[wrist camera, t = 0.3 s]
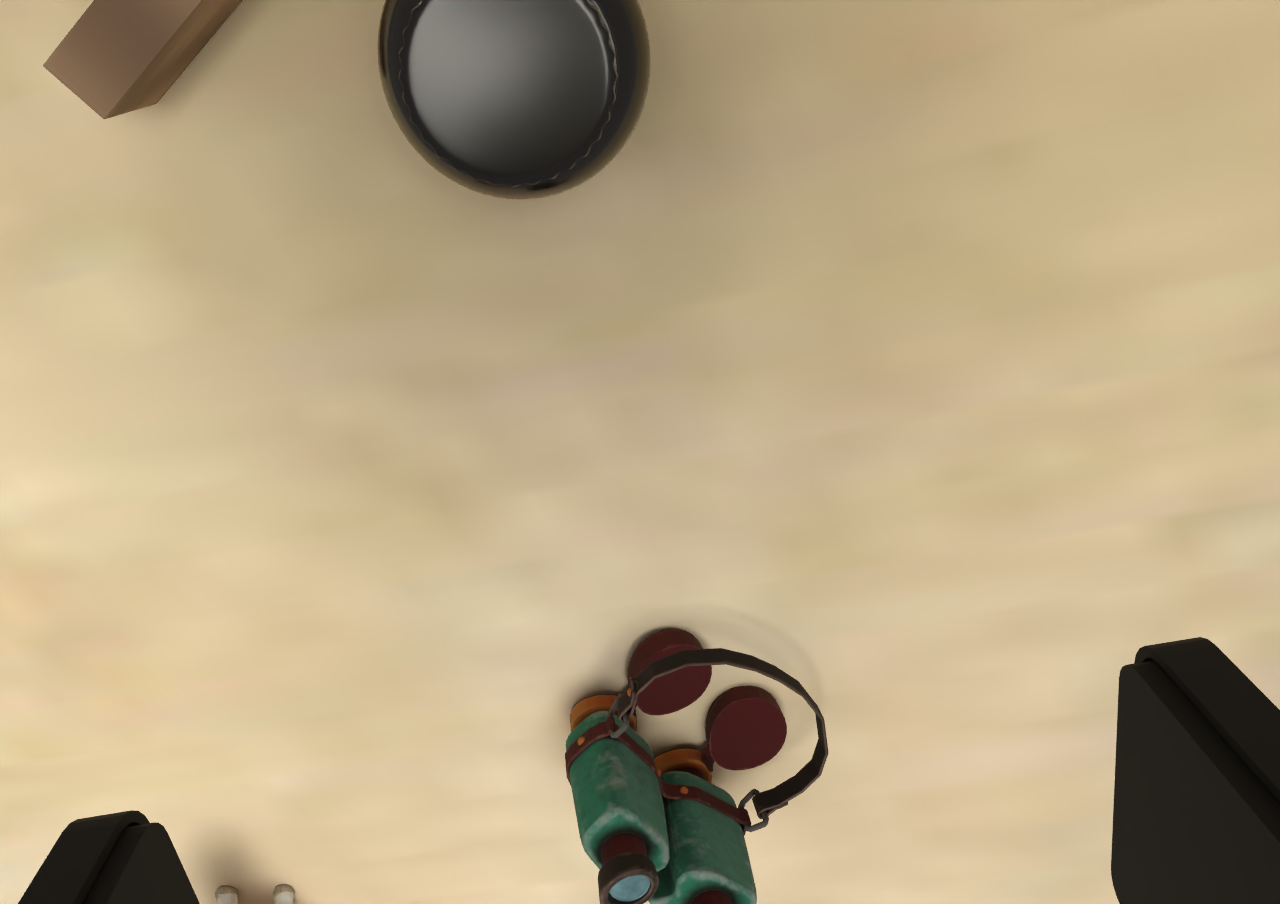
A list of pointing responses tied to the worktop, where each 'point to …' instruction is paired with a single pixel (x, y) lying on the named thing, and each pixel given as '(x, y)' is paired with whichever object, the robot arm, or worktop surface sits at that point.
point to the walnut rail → (134, 49)
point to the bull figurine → (229, 895)
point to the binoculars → (677, 778)
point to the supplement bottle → (515, 87)
